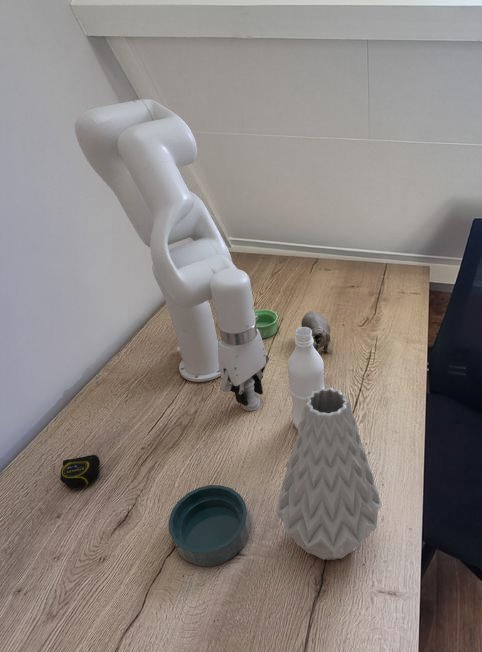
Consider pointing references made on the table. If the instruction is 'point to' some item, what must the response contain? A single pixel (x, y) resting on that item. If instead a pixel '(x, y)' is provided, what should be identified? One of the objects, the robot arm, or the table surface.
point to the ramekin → (266, 322)
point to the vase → (328, 481)
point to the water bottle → (304, 372)
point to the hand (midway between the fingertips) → (249, 396)
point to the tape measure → (80, 471)
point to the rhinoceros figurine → (317, 329)
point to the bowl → (209, 525)
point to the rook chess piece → (251, 395)
